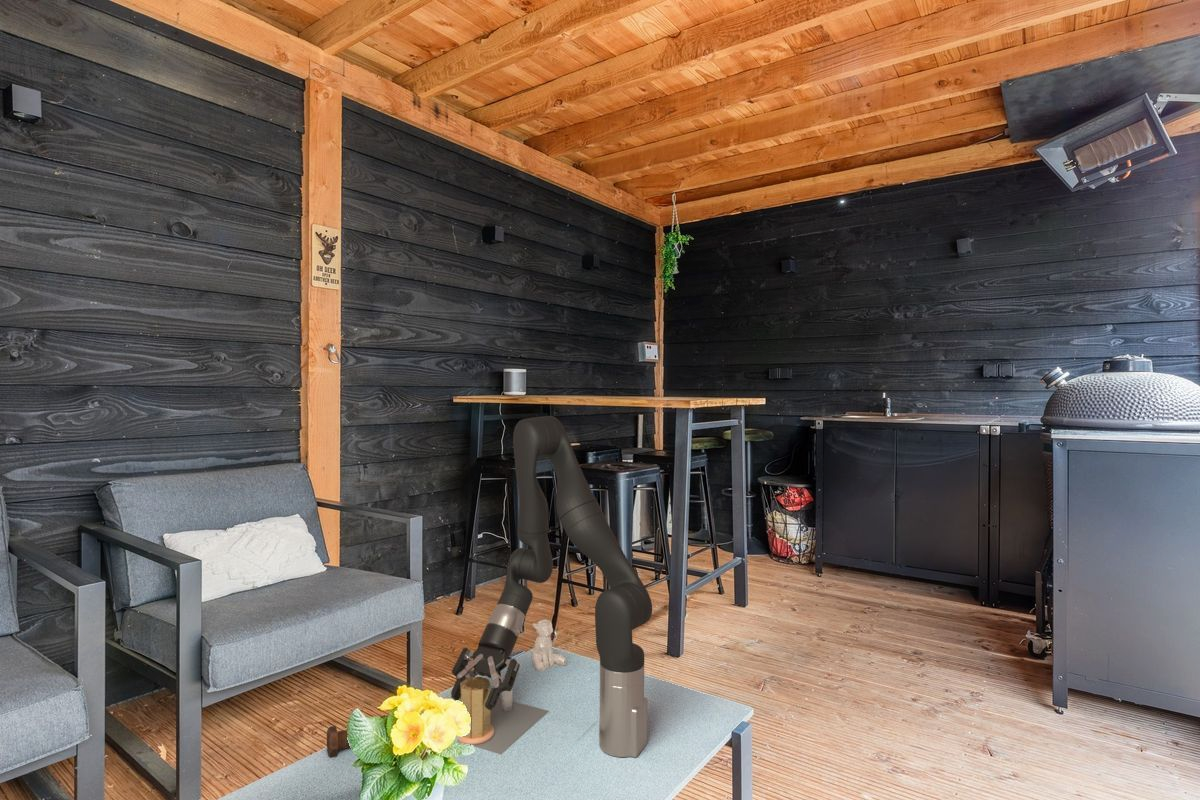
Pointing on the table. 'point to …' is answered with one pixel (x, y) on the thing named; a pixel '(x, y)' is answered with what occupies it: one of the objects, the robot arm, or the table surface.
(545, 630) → the white creature statuette
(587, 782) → the table surface
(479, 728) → the sleeve
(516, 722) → the rod board
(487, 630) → the robot arm
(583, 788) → the table surface
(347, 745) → the bolt
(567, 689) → the table surface
